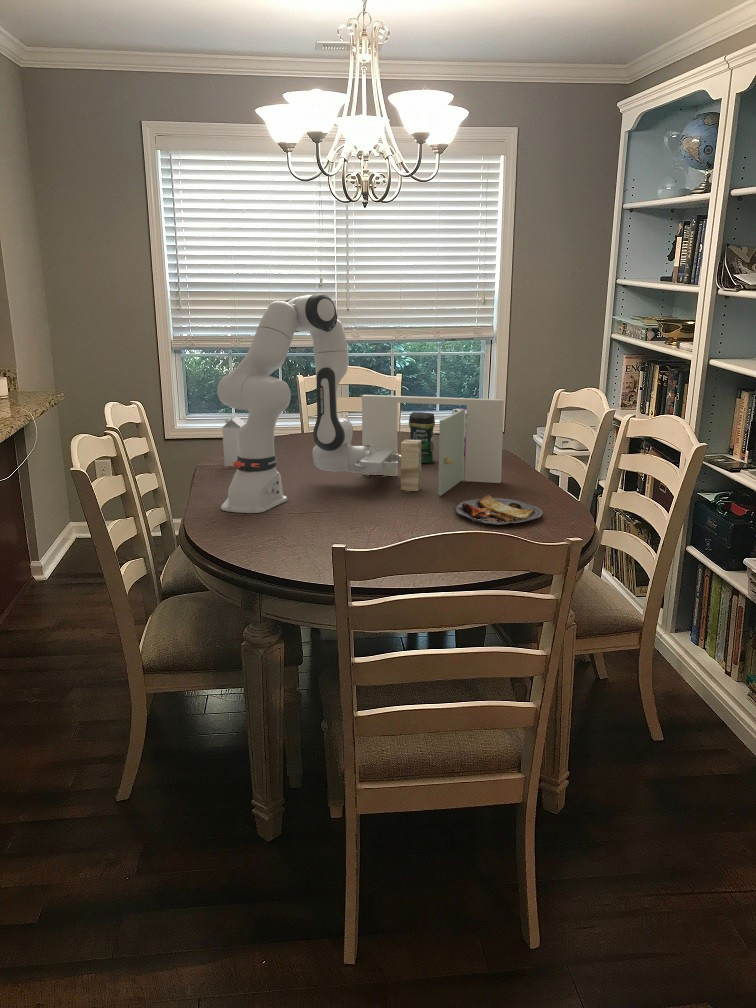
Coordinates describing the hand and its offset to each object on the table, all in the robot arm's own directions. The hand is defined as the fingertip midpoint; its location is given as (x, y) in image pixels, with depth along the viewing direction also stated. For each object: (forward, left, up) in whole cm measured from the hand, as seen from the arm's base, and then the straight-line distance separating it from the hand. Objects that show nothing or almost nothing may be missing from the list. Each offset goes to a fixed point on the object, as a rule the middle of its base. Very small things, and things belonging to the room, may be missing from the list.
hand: (401, 461), depth 263 cm
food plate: (-23, -34, -10) cm, 42 cm away
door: (+4, -17, -9) cm, 19 cm away
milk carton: (+17, +66, -9) cm, 69 cm away
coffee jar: (+39, +1, -9) cm, 40 cm away
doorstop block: (0, -3, -9) cm, 10 cm away
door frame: (+15, -7, -9) cm, 19 cm away
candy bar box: (+59, -12, -9) cm, 61 cm away
